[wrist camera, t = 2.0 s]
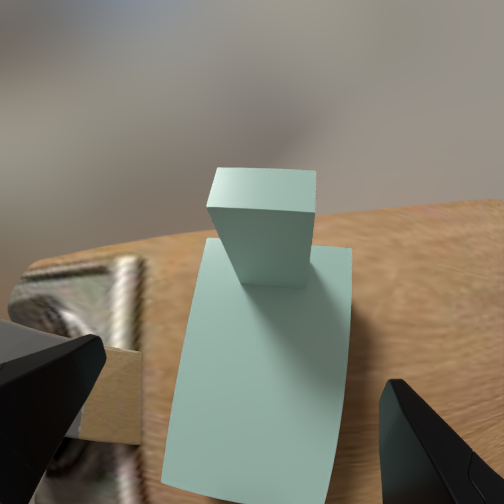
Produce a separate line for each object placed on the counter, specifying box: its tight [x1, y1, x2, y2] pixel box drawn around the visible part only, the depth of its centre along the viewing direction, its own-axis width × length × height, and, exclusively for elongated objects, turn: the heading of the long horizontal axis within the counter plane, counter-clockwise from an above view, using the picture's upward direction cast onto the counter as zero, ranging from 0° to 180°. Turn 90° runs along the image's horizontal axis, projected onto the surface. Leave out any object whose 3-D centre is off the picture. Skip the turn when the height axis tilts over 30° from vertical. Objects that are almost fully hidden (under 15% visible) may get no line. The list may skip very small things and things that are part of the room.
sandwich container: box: [0, 318, 142, 445], centre depth 14 cm, size 9×15×15 cm, turn 91°
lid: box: [161, 168, 352, 504], centre depth 12 cm, size 17×10×10 cm, turn 171°
